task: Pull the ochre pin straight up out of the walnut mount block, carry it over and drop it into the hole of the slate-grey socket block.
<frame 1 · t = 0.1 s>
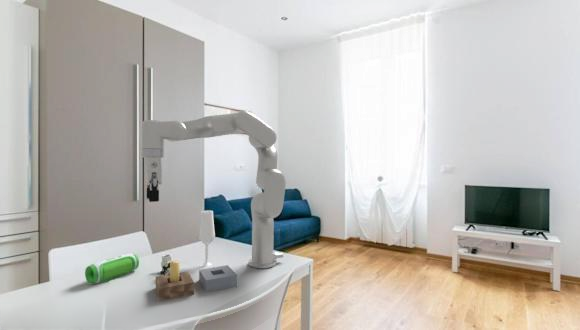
hand: (152, 199, 115), 31 cm above the table, tool pointing down, fingers open, 9 cm apart
champagne flute: (206, 267, 132), on the table
valve: (167, 275, 123), on the table
mount: (174, 293, 106), on the table
pin: (174, 290, 106), point 1 cm above the table, touching mount
socket: (217, 285, 113), on the table
speaker: (113, 277, 120), on the table
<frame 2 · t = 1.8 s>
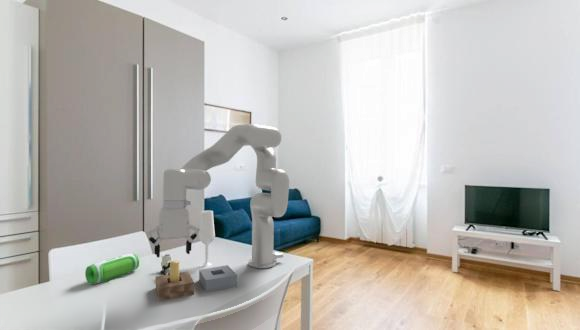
hand: (173, 254, 105), 14 cm above the table, tool pointing down, fingers open, 9 cm apart
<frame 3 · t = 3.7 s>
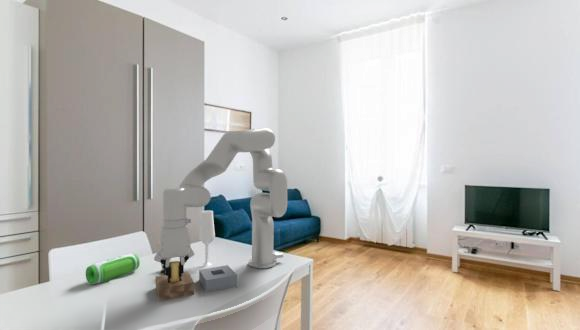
hand: (174, 275, 106), 6 cm above the table, tool pointing down, fingers closed on pin, 3 cm apart
pin: (174, 290, 106), point 1 cm above the table, touching gripper, mount
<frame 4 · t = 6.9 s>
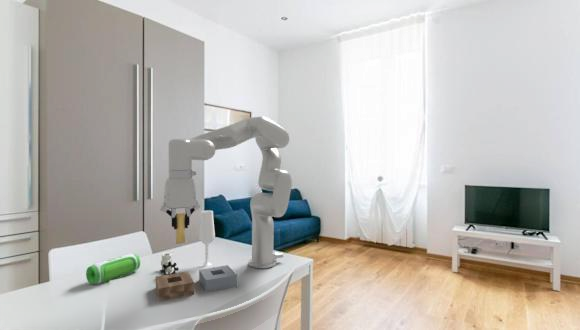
hand: (180, 227, 107), 23 cm above the table, tool pointing down, fingers closed on pin, 3 cm apart
pin: (180, 242, 107), point 18 cm above the table, touching gripper
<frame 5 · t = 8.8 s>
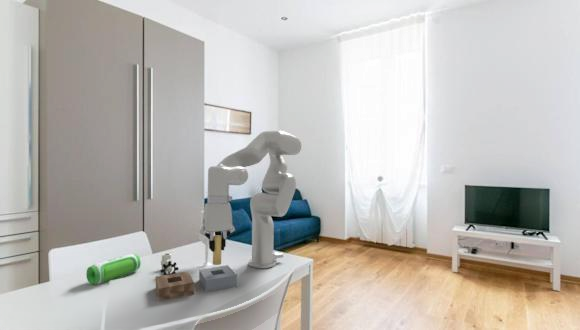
hand: (217, 249, 113), 14 cm above the table, tool pointing down, fingers closed on pin, 3 cm apart
pin: (217, 263, 113), point 8 cm above the table, touching gripper
when the fingers open (8 cm above the table, at t = 10.3 s): pin drops 1 cm, resting on socket.
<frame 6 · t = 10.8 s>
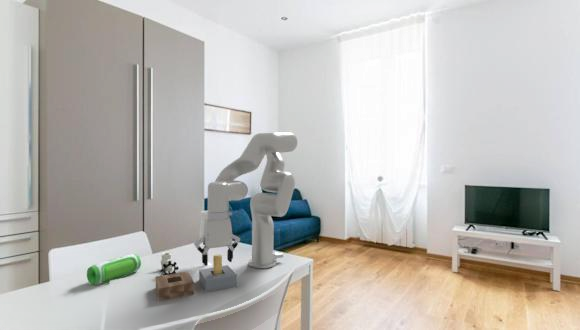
hand: (217, 262, 113), 9 cm above the table, tool pointing down, fingers open, 8 cm apart
pin: (217, 282, 113), point 1 cm above the table, touching socket
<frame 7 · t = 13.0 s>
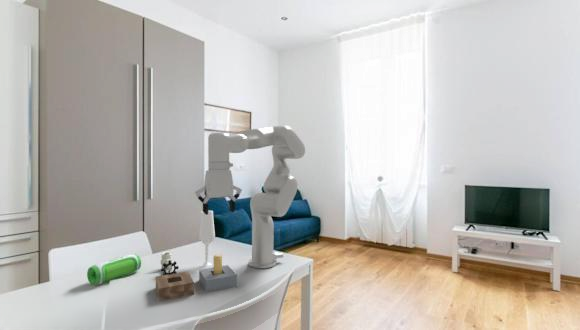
hand: (219, 212, 114), 27 cm above the table, tool pointing down, fingers open, 9 cm apart
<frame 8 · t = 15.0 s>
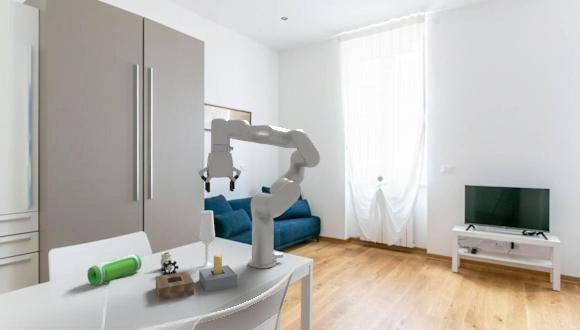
hand: (220, 191, 125), 33 cm above the table, tool pointing down, fingers open, 9 cm apart
at the end: pin 0.1 cm off-centre on the socket, point 1.0 cm above the socket's base; pin tilted 1°; the gripper is holding nothing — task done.
